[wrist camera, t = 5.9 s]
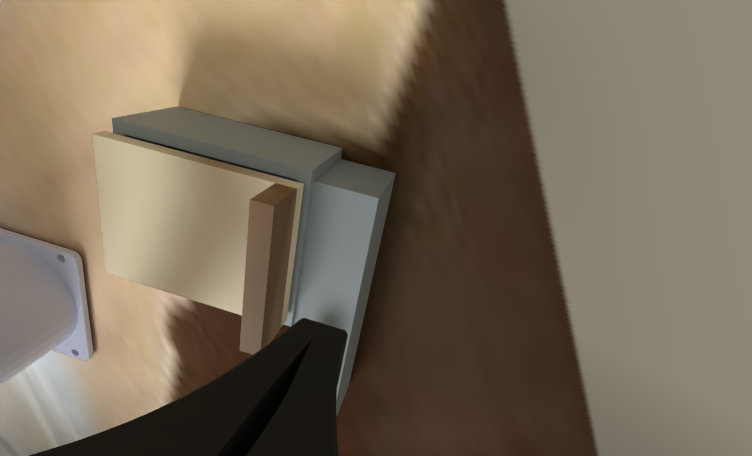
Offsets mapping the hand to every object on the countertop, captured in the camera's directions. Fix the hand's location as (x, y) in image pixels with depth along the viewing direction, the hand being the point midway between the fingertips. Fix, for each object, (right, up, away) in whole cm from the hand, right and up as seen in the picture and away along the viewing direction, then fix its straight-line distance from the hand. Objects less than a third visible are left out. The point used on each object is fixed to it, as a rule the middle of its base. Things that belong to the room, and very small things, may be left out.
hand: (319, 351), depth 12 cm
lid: (-5, +3, +5) cm, 8 cm away
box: (-4, +2, +9) cm, 10 cm away
